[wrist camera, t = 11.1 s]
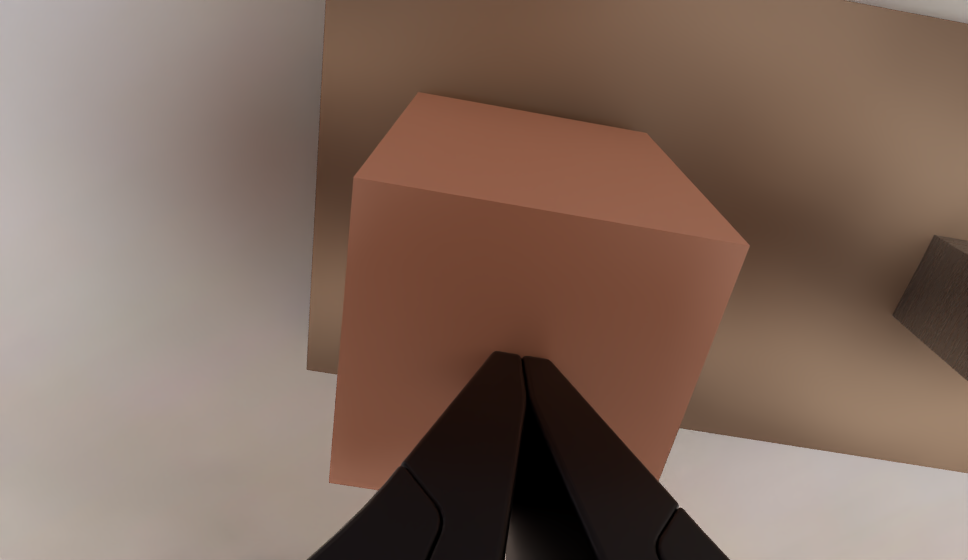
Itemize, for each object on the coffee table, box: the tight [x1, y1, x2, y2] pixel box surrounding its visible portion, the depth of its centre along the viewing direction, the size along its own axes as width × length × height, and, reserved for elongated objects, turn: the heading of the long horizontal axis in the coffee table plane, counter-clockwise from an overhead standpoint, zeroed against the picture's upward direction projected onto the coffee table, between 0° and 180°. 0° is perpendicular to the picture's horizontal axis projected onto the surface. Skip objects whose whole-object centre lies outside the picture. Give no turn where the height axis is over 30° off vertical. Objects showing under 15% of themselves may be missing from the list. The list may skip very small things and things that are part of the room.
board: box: [307, 0, 968, 473], centre depth 17 cm, size 12×22×1 cm, turn 80°
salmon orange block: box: [329, 92, 750, 490], centre depth 12 cm, size 5×5×7 cm
